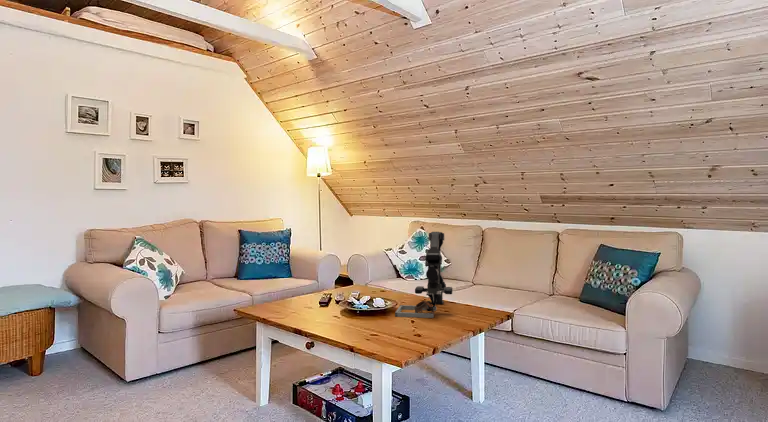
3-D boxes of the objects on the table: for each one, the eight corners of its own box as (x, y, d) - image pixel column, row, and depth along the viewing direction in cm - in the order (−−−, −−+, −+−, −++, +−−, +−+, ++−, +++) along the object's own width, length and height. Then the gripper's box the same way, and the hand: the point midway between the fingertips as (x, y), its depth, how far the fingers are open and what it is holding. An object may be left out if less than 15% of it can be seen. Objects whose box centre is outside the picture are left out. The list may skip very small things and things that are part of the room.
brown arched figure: (433, 318, 247) (424, 304, 247) (418, 325, 252) (409, 311, 251) (440, 307, 258) (431, 294, 257) (425, 313, 262) (417, 300, 262)
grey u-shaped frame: (400, 308, 267) (400, 305, 267) (436, 310, 263) (436, 306, 263) (395, 316, 251) (394, 312, 251) (433, 317, 247) (433, 313, 247)
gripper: (413, 279, 248) (413, 310, 249) (451, 279, 245) (451, 311, 245) (416, 275, 259) (416, 305, 260) (452, 275, 256) (452, 306, 256)
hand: (434, 307), depth 255 cm, fingers closed
